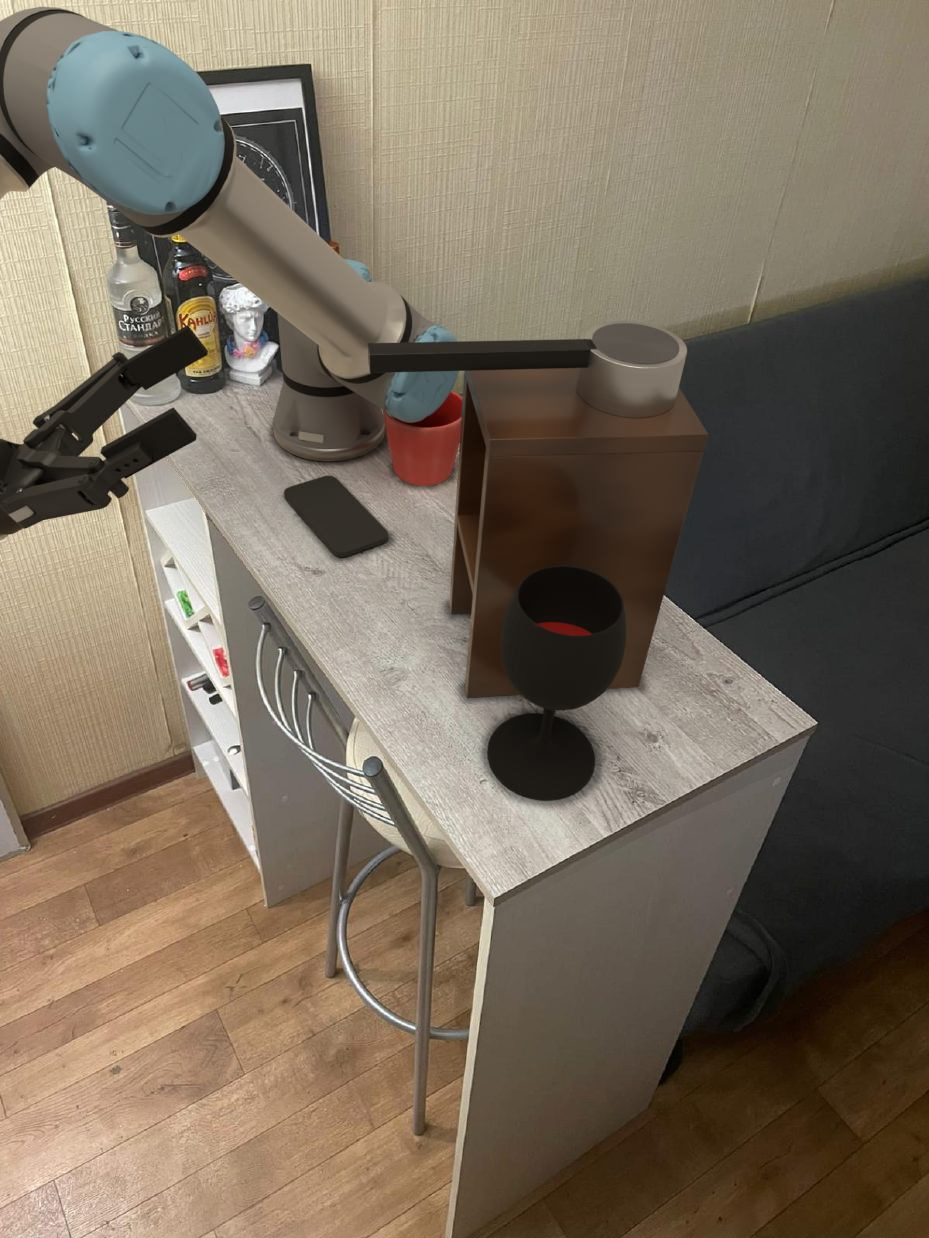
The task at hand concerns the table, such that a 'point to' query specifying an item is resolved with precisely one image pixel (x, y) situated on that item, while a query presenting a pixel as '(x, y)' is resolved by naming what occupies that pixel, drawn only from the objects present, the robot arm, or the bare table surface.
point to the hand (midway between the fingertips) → (192, 378)
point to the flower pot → (426, 443)
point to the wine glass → (556, 677)
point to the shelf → (564, 505)
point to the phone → (336, 516)
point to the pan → (565, 363)
